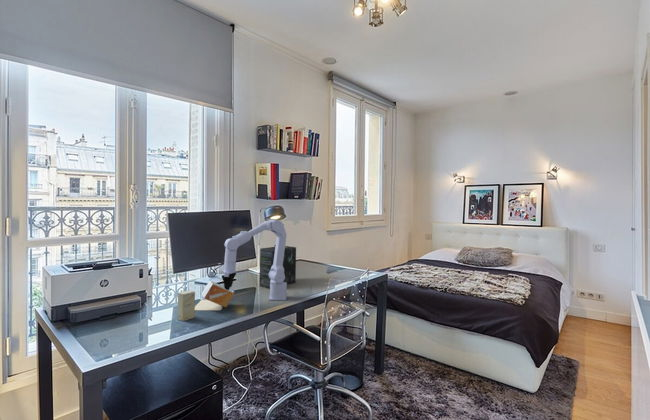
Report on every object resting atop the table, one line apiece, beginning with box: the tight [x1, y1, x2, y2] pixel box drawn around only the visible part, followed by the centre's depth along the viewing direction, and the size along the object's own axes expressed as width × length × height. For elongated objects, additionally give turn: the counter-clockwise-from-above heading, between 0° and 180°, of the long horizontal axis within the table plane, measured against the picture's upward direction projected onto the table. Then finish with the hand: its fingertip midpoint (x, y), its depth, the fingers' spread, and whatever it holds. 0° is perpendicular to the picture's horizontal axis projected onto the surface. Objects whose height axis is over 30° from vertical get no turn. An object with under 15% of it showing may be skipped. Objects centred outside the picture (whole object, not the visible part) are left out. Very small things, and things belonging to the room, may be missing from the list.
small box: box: [201, 279, 235, 308], centre depth 166 cm, size 8×6×13 cm
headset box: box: [259, 244, 297, 289], centre depth 213 cm, size 22×12×26 cm, turn 144°
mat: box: [195, 299, 224, 312], centre depth 170 cm, size 14×17×1 cm
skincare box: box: [177, 290, 196, 322], centre depth 151 cm, size 6×4×12 cm
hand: (228, 288), depth 170 cm, fingers open, 5 cm apart
